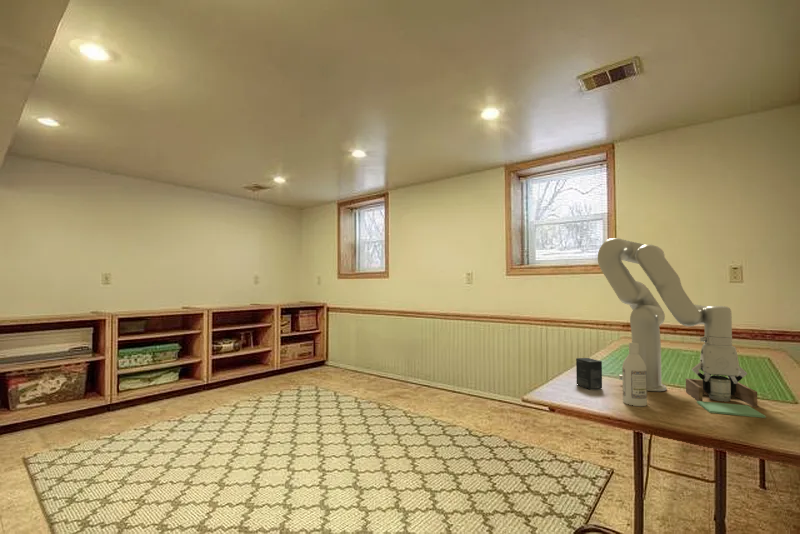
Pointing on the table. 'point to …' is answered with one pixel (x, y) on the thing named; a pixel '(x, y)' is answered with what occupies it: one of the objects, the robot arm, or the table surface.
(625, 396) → the bath foam
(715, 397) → the camera lens
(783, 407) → the table surface
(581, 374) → the box
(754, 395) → the cubby
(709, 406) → the cutting mat
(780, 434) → the table surface
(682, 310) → the robot arm
